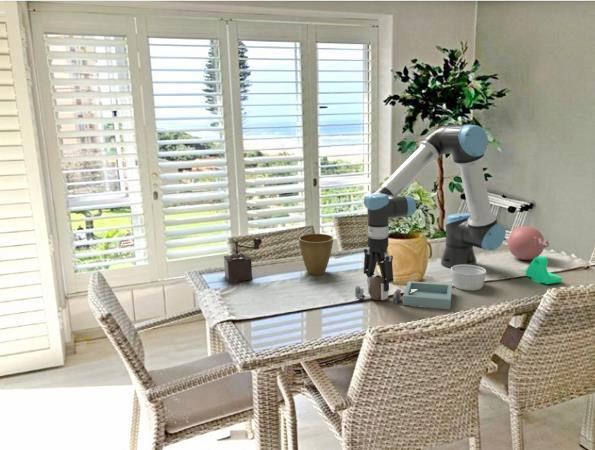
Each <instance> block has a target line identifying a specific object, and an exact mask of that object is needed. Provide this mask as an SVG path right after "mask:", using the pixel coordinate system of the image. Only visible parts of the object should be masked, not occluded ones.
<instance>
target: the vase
mask: <svg viewBox="0 0 595 450" xmlns="http://www.w3.org/2000/svg"><path fill="white" fill-rule="evenodd" d="M374 276H375V277H374V279H373V280H372V281H371V283H370V285H369V294H368V295H369V297H371V298H372V300H374V301H382V300H381V282H383V280H382V276H381V274H380V275H379V274H378V275H376V274H375V275H374Z"/></svg>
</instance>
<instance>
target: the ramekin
mask: <svg viewBox="0 0 595 450" xmlns="http://www.w3.org/2000/svg"><path fill="white" fill-rule="evenodd" d="M450 273H451V283H452V286H454V287H455V288H456V289H460V290H462V291H463V290H464V291H478V290H481V289H482V288H483V286H484V285H485V280H486V279H485V278H486V275H487V270H486V269H485V268H484V267H481V266H478V265H476V266H475V265H456V266H453V267H451V268H450Z"/></svg>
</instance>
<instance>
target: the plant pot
mask: <svg viewBox="0 0 595 450" xmlns="http://www.w3.org/2000/svg"><path fill="white" fill-rule="evenodd" d="M298 242H299V247H300V252H301V255H302V261H303V263H304V265H305V269H306V271H307V274H309V275H311V276H321V274H322V275H324V274H325V273H326V270H327V268H328V264H329V262H330V259H331V254H332V250H333V249H332V248H333V243H334V236H332V235H330V234H325V233H307V234H303V235H300V236H299V237H298Z"/></svg>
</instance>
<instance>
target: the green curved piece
mask: <svg viewBox="0 0 595 450" xmlns="http://www.w3.org/2000/svg"><path fill="white" fill-rule="evenodd" d="M548 265H549V260H548V258H547V257H546V256H543V255H542V256H538V257H535V258H534V259H532V260H531V263H530V264H529V265H528V267H527V269H526V270H525V276H527V277H529V278H531V280H532V282H533V281H534V282H535V283H538V284H545V285H549V284H557V283H562V282H563V277H562V276H559V275H557V274H554V273H551V272H550V271H548V268H547V267H548Z"/></svg>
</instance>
